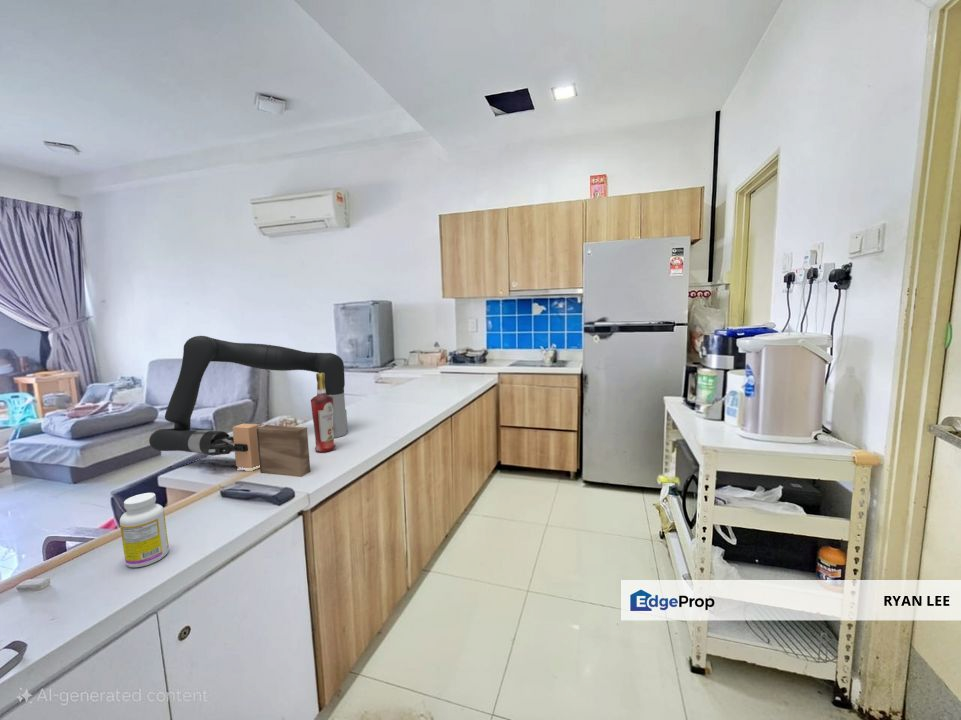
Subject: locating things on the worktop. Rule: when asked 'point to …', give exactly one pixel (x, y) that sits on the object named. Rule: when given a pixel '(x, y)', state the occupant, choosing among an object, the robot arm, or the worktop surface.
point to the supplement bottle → (143, 530)
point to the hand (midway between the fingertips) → (253, 445)
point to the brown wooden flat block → (283, 450)
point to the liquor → (323, 417)
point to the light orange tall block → (249, 437)
